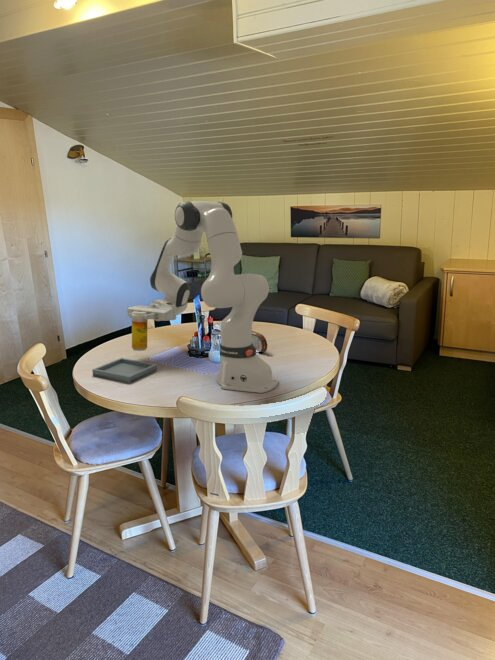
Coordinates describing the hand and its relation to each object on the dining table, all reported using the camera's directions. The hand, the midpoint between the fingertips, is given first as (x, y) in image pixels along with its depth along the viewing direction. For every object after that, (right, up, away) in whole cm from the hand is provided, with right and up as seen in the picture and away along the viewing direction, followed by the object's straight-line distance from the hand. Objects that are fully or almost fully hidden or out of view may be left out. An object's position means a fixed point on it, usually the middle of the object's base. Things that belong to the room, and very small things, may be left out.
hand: (137, 316), depth 191 cm
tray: (-3, -22, -6) cm, 23 cm away
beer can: (0, -13, +4) cm, 14 cm away
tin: (+47, -15, +23) cm, 54 cm away
